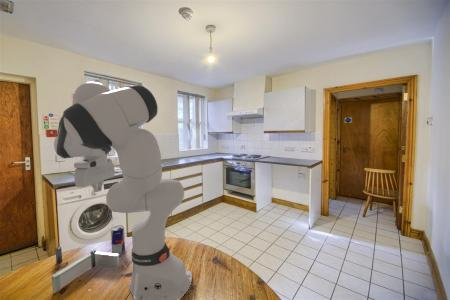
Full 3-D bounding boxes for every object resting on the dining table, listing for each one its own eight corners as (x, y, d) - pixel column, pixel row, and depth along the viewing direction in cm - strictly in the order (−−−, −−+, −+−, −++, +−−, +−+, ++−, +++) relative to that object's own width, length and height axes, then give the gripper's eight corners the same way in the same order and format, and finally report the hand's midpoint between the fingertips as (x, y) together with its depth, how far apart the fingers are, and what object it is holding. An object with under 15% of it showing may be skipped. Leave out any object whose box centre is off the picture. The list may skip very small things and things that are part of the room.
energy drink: (119, 256, 91) (118, 231, 90) (109, 255, 92) (107, 230, 91) (127, 249, 96) (126, 225, 95) (117, 248, 98) (116, 224, 96)
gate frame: (120, 267, 84) (119, 252, 84) (116, 270, 83) (116, 255, 82) (59, 260, 89) (58, 246, 88) (55, 263, 87) (54, 249, 86)
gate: (88, 266, 84) (88, 253, 83) (92, 267, 83) (91, 254, 83) (52, 290, 71) (51, 276, 71) (56, 291, 71) (55, 277, 70)
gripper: (105, 157, 101) (107, 184, 102) (70, 164, 81) (72, 198, 82) (117, 157, 100) (118, 185, 102) (84, 165, 80) (87, 199, 81)
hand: (97, 191), depth 92 cm, fingers closed
